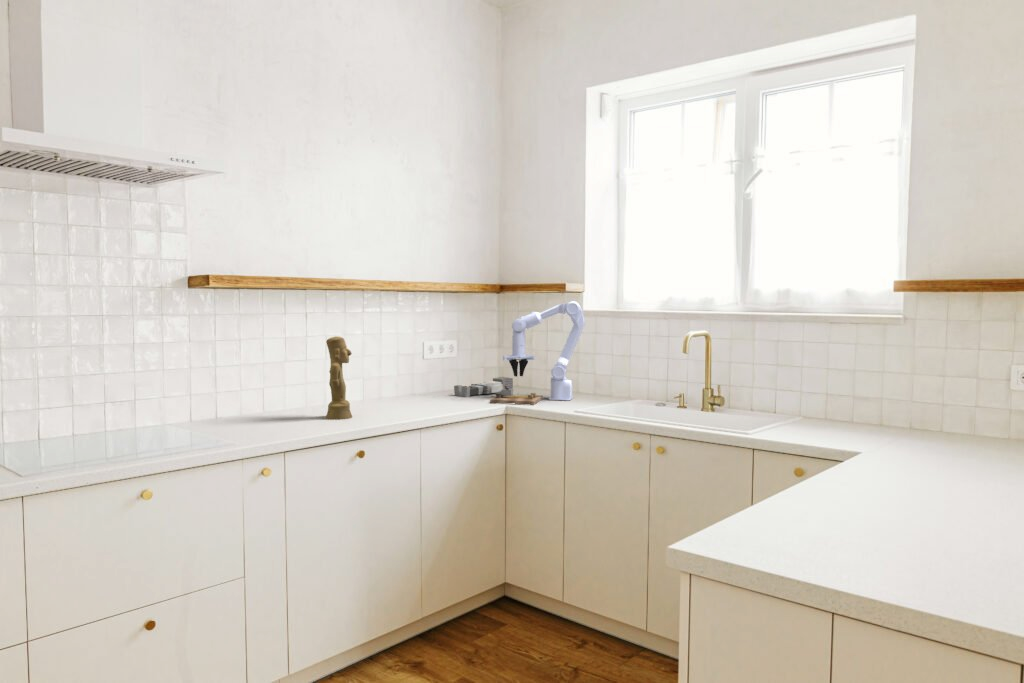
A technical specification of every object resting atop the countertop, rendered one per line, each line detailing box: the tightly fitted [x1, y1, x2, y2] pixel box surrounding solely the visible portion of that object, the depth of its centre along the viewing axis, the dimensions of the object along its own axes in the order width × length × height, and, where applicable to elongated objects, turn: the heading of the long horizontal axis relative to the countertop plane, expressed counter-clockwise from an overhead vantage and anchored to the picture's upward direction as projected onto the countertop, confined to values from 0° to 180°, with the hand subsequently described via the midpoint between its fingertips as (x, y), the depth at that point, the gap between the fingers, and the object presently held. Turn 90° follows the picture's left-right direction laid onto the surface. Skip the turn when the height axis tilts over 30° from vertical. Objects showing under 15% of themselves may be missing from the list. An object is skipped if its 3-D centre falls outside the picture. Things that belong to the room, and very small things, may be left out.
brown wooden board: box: [489, 391, 544, 406], centre depth 322 cm, size 19×20×3 cm
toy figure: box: [453, 376, 514, 398], centre depth 347 cm, size 11×7×30 cm
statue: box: [325, 336, 353, 420], centre depth 273 cm, size 11×10×30 cm
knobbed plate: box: [501, 387, 514, 395], centre depth 322 cm, size 4×4×3 cm
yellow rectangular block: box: [506, 394, 528, 398], centre depth 322 cm, size 11×3×1 cm, turn 77°
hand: (518, 376), depth 331 cm, fingers open, 2 cm apart
